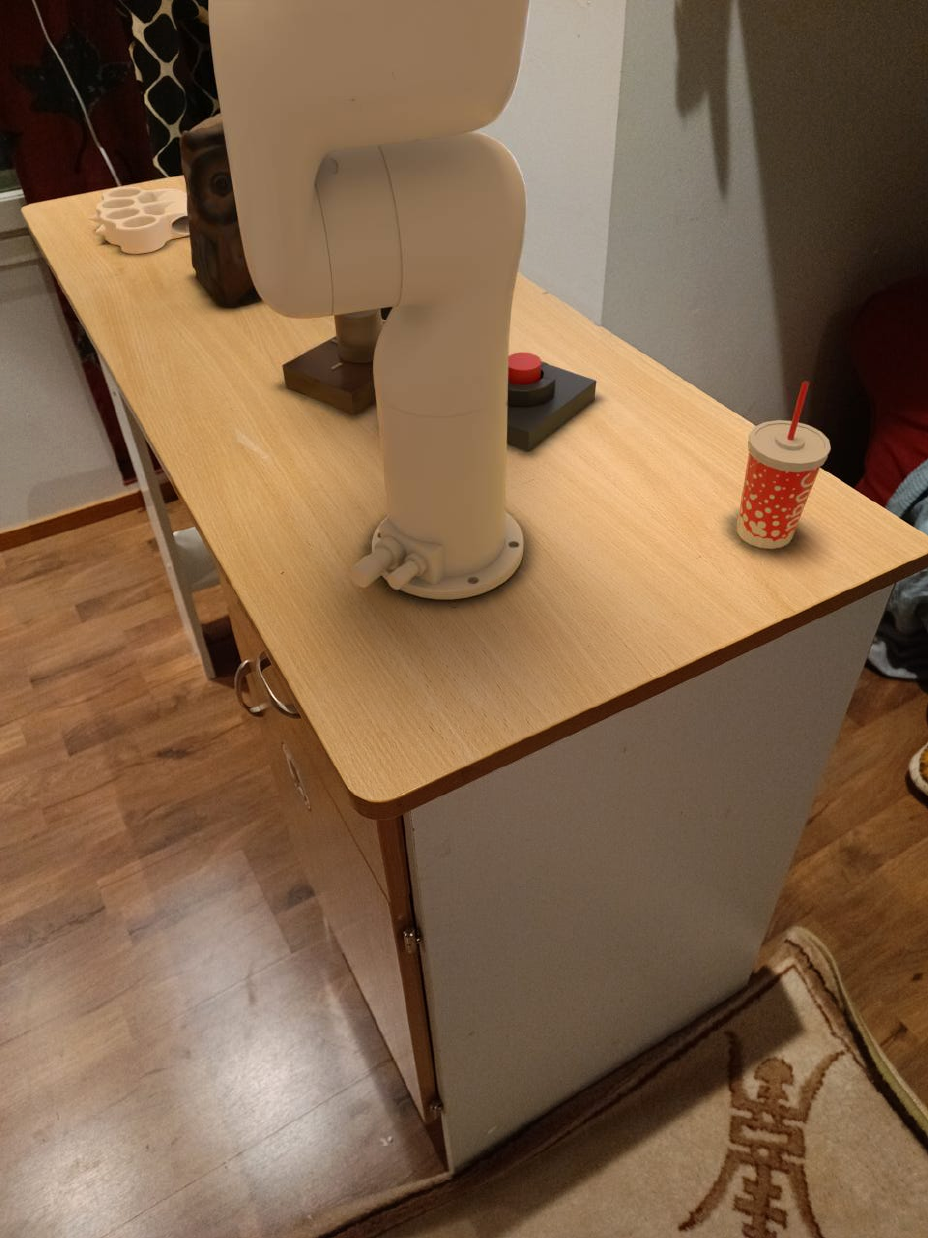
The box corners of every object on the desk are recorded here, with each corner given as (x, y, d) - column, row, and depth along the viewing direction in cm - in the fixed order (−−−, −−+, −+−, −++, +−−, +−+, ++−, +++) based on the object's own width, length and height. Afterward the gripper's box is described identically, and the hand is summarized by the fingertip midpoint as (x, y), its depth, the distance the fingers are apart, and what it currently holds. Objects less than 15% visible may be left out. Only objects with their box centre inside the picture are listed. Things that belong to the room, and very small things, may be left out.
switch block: (528, 452, 84) (529, 415, 81) (446, 419, 88) (445, 383, 85) (594, 399, 90) (598, 364, 87) (515, 371, 95) (516, 336, 92)
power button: (527, 390, 85) (527, 373, 84) (497, 379, 86) (497, 362, 85) (547, 375, 87) (548, 358, 86) (518, 364, 88) (518, 348, 87)
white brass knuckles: (210, 241, 123) (103, 260, 118) (185, 201, 134) (86, 217, 130) (205, 216, 120) (95, 235, 116) (179, 177, 132) (79, 193, 128)
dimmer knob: (395, 349, 93) (391, 301, 90) (363, 367, 91) (358, 319, 87) (360, 336, 96) (355, 289, 92) (328, 354, 93) (322, 306, 89)
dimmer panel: (354, 415, 89) (351, 392, 87) (285, 386, 93) (281, 363, 91) (440, 361, 97) (439, 338, 95) (373, 336, 101) (371, 314, 99)
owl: (291, 262, 117) (264, 92, 103) (303, 302, 108) (276, 122, 94) (194, 274, 115) (154, 102, 101) (199, 315, 106) (155, 133, 92)
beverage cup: (756, 562, 71) (799, 411, 62) (712, 520, 75) (746, 372, 66) (817, 542, 73) (868, 392, 63) (771, 502, 77) (812, 355, 67)
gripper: (439, 117, 75) (448, 311, 87) (299, 94, 83) (323, 274, 95) (381, 138, 71) (398, 339, 83) (239, 111, 79) (272, 298, 91)
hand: (358, 304), depth 89 cm, fingers open, 9 cm apart
